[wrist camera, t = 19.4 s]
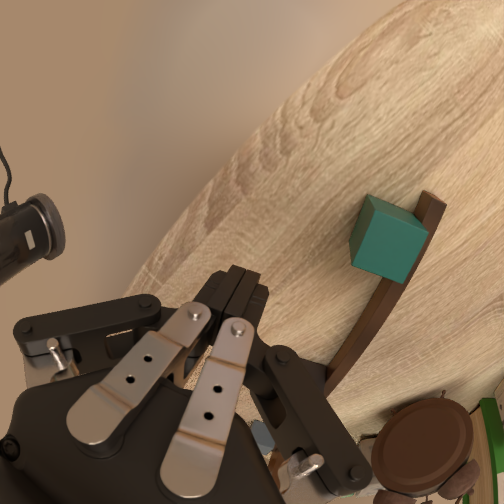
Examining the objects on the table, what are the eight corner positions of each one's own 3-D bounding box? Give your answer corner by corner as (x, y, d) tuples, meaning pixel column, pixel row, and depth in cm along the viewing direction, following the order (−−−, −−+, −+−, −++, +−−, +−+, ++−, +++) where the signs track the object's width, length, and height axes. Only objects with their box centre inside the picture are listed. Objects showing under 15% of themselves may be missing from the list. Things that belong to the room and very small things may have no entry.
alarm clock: (382, 427, 33) (372, 536, 16) (370, 408, 32) (357, 535, 14) (464, 397, 27) (478, 509, 9) (463, 373, 25) (484, 504, 8)
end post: (289, 446, 42) (253, 559, 20) (274, 442, 43) (235, 556, 20) (298, 438, 40) (261, 562, 17) (283, 434, 40) (241, 559, 18)
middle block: (281, 375, 33) (273, 403, 29) (292, 355, 30) (285, 384, 26) (313, 385, 32) (308, 413, 28) (327, 366, 30) (323, 395, 26)
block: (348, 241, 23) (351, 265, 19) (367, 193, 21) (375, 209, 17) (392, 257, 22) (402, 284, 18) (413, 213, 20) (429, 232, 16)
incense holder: (393, 451, 37) (391, 495, 28) (353, 453, 39) (348, 498, 30) (406, 430, 33) (407, 482, 24) (361, 433, 35) (356, 486, 26)
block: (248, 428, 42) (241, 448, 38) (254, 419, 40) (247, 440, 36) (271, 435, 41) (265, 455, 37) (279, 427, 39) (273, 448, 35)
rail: (276, 441, 42) (273, 452, 40) (268, 439, 42) (265, 449, 40) (436, 196, 19) (447, 204, 16) (423, 189, 19) (432, 197, 17)
